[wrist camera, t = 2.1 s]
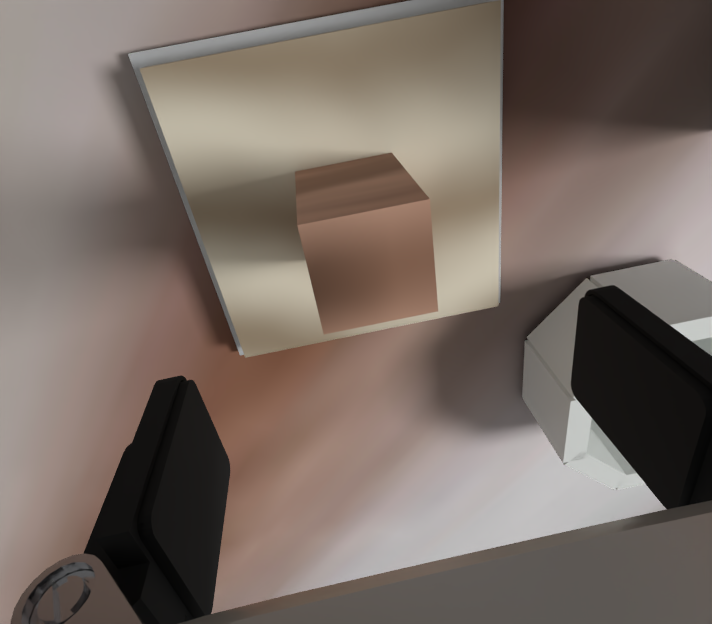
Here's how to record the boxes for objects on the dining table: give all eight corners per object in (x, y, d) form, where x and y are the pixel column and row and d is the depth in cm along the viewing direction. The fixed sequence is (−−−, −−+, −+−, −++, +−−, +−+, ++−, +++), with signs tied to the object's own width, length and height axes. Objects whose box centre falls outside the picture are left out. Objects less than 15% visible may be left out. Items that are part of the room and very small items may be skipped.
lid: (146, 66, 17) (71, 87, 11) (490, 1, 17) (594, -12, 11) (246, 345, 24) (232, 450, 18) (491, 296, 24) (556, 383, 18)
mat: (130, 53, 17) (127, 53, 17) (499, -17, 17) (503, -18, 17) (240, 350, 25) (239, 355, 24) (497, 298, 25) (500, 302, 25)
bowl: (523, 283, 25) (577, 343, 20) (726, 242, 25) (827, 292, 20) (517, 430, 31) (558, 502, 26) (681, 396, 31) (750, 461, 26)
